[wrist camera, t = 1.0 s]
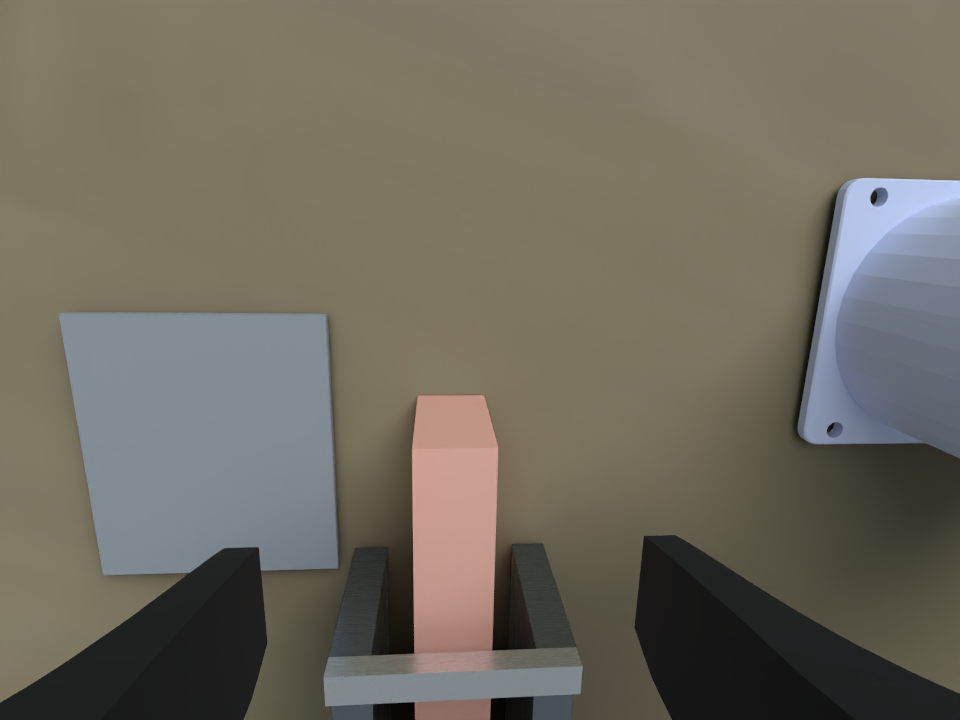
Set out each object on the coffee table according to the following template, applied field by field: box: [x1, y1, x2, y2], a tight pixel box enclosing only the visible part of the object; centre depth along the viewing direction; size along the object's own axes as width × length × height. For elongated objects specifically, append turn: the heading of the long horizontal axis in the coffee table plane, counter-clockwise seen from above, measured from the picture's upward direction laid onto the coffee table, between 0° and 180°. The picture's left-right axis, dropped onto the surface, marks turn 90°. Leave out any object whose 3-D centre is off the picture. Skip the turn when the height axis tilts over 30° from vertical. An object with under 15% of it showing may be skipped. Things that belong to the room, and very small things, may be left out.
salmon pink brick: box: [412, 395, 498, 720], centre depth 16 cm, size 2×8×4 cm, turn 179°
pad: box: [59, 312, 340, 575], centre depth 16 cm, size 7×8×1 cm
